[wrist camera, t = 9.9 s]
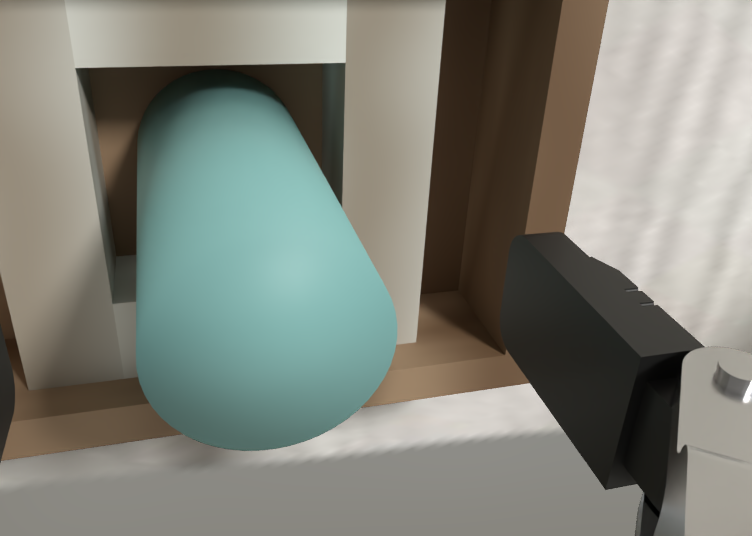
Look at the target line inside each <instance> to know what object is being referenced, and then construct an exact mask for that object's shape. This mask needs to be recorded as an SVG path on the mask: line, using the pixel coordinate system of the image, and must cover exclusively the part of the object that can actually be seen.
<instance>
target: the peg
mask: <svg viewBox="0 0 752 536" xmlns="http://www.w3.org/2000/svg"><path fill="white" fill-rule="evenodd" d="M396 342H397V318H396V311H395V308H394V305H393V302H392V299H391V297H390V295H389V293H388V291H387V289H386V287H385V285H384V283H383V281H382V279H381V278H380V276H379V274H378V272H377V270H376V268H375V267H374V265H373V263H372V261H371V259H370V258H369V256H368V254H367V252H366V250H365V249H364V247H363V245H362V243H361V241H360V240H359V238H358V236H357V234H356V232H355V230H354V229H353V227H352V225H351V223H350V221H349V220H348V218H347V216H346V214H345V212H344V211H343V209H342V207H341V205H340V203H339V202H338V200H337V198H336V196H335V194H334V192H333V191H332V189H331V187H330V185H329V183H328V182H327V180H326V178H325V176H324V174H323V173H322V171H321V169H320V167H319V165H318V164H317V162H316V160H315V158H314V156H313V154H312V153H311V151H310V149H309V147H308V145H307V144H306V142H305V140H304V138H303V136H302V135H301V133H300V131H299V129H298V127H297V126H296V124H295V122H294V120H293V118H292V117H291V115H290V113H289V111H288V109H287V108H286V106H285V105H284V103H283V102H282V100H281V99H280V98H279V97H278V96H277V95H276V93H275V92H274V91H272V90H271V89H270V88H269V87H268V86H266V85H265V84H263V83H262V82H260V81H259V80H257V79H255V78H253V77H251V76H249V75H246V74H243V73H240V72H236V71H231V70H222V69H211V70H202V71H197V72H193V73H190V74H187V75H185V76H182V77H180V78H178V79H176V80H174V81H173V82H171V83H170V84H168V85H167V86H166V87H164V88H163V89H162V90H161V91H160V92H159V93H158V94H157V95H156V96H155V97H154V99H153V100H152V101H151V102H150V104H149V105H148V107H147V109H146V110H145V112H144V115H143V117H142V120H141V123H140V127H139V130H138V139H137V255H136V369H137V373H138V378H139V382H140V385H141V387H142V390H143V392H144V395H145V397H146V398H147V400H148V401H149V403H150V405H151V406H152V408H153V409H154V410H155V411H156V412H157V413H158V415H159V416H160V417H161V418H162V419H163V420H164V421H166V422H167V423H168V424H169V425H170V426H171V427H173V428H174V429H176V430H177V431H179V432H181V433H182V434H184V435H185V436H188V437H190V438H192V439H194V440H196V441H198V442H202V443H205V444H208V445H211V446H215V447H219V448H224V449H231V450H242V451H259V450H268V449H276V448H281V447H286V446H291V445H294V444H297V443H301V442H304V441H307V440H309V439H312V438H314V437H317V436H319V435H321V434H323V433H325V432H327V431H329V430H331V429H332V428H334V427H336V426H337V425H339V424H340V423H342V422H343V421H345V420H346V419H348V418H349V417H350V416H351V415H353V414H354V413H355V412H356V411H358V410H359V409H360V408H361V407H362V406H363V405H364V404H365V403H366V402H367V401H368V400H369V398H370V397H371V396H372V395H373V393H374V392H375V391H376V390H377V388H378V387H379V385H380V384H381V382H382V381H383V379H384V377H385V376H386V373H387V371H388V369H389V367H390V365H391V362H392V359H393V356H394V353H395V348H396Z"/></svg>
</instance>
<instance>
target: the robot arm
mask: <svg viewBox="0 0 752 536" xmlns="http://www.w3.org/2000/svg"><path fill="white" fill-rule="evenodd" d="M500 330H501V336H502V339H503V342H504V345H505V347H506V349H507V351H508V353H509V354H510V355H511V357H512V358H513V360H514V361H515V362H516V364H517V365H518V367H519V368H520V370H521V371H522V372H523V374H524V375H525V377H526V378H527V379H528V381H529V382H530V384H531V385H532V386H533V388H534V389H535V391H536V392H537V394H538V395H539V396H540V398H541V399H542V401H543V402H544V403H545V405H546V406H547V408H548V409H549V411H550V412H551V413H552V415H553V416H554V418H555V419H556V420H557V422H558V423H559V425H560V426H561V427H562V429H563V430H564V432H565V433H566V435H567V436H568V437H569V439H570V440H571V442H572V443H573V444H574V446H575V447H576V449H577V450H578V452H579V453H580V454H581V456H582V457H583V458H584V460H585V461H586V462H587V464H588V465H589V467H590V468H591V470H592V471H593V473H594V474H595V475H596V477H597V478H598V480H599V481H600V483H601V484H602V485H603V487H604V488H605V490H607V489H613V488H618V487H623V486H628V485H634V484H638V485H639V487H640V488H641V489H642V490H643V494H642V497H641V501H640V504H639V508H638V513H637V521H636V530H635V536H752V354H750V353H748V352H744V351H741V350H737V349H732V348H726V347H704V346H703V345H702V344H701V343H700V342H699V341H697V340H696V339H695V338H694V337H693V336H692V335H691V334H690V333H688V332H687V331H686V330H685V329H684V328H683V327H682V326H681V325H680V324H678V323H677V322H676V321H675V320H674V319H673V318H672V317H671V316H669V315H668V314H667V313H666V312H665V311H664V310H663V309H662V308H660V307H659V306H658V305H654V301H653V300H652V299H650V298H649V297H648V296H647V295H646V294H645V293H644V292H643V291H638V287H637V286H636V285H635V284H634V283H632V282H631V281H630V280H629V279H628V278H627V277H626V276H625V275H624V274H622V273H621V272H620V271H619V270H617V269H615V268H613V267H611V266H609V265H607V264H605V263H603V262H601V261H599V260H597V259H595V258H593V257H589V256H588V255H586V254H585V253H584V252H583V251H582V250H581V249H580V248H579V247H578V246H577V245H576V244H575V243H573V242H572V241H571V240H570V239H569V238H568V237H567V236H566V235H565V234H563V233H562V232H548V233H536V234H525V235H518V236H516V237H515V238H514V239H513V240H512V242H511V245H510V249H509V255H508V262H507V269H506V276H505V283H504V290H503V297H502V304H501V310H500ZM14 408H15V383H14V375H13V370H12V366H11V362H10V359H9V355H8V351H7V347H6V344H5V340H4V336H3V332H2V328H1V325H0V463H1V459H2V455H3V451H4V448H5V444H6V440H7V436H8V433H9V429H10V425H11V422H12V418H13V414H14Z"/></svg>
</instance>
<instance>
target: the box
mask: <svg viewBox="0 0 752 536" xmlns="http://www.w3.org/2000/svg"><path fill="white" fill-rule="evenodd" d="M608 2H609V0H0V325H1V328H2V332H3V336H4V340H5V344H6V347H7V351H8V355H9V359H10V362H11V366H12V370H13V375H14V383H15V408H14V414H13V418H12V422H11V425H10V429H9V433H8V436H7V440H6V444H5V448H4V451H3V455H2V459H1V461H3V460H10V459H17V458H24V457H30V456H37V455H44V454H51V453H58V452H64V451H71V450H78V449H85V448H92V447H98V446H105V445H112V444H119V443H126V442H132V441H139V440H146V439H153V438H160V437H166V436H173V435H180V434H182V433H181V432H179V431H177V430H176V429H174V428H173V427H171V426H170V425H169V424H168V423H167V422H166V421H164V420H163V419H162V418H161V417H160V416H159V415H158V413H157V412H156V411H155V410H154V409H153V408H152V406H151V405H150V403H149V401H148V400H147V398H146V397H145V395H144V392H143V390H142V387H141V385H140V382H139V378H138V373H137V369H136V255H137V139H138V130H139V127H140V123H141V120H142V117H143V115H144V112H145V110H146V109H147V107H148V105H149V104H150V102H151V101H152V100H153V99H154V97H155V96H156V95H157V94H158V93H159V92H160V91H161V90H162V89H163V88H164V87H166V86H167V85H168V84H170V83H171V82H173V81H174V80H176V79H178V78H180V77H182V76H185V75H187V74H190V73H193V72H197V71H202V70H211V69H222V70H231V71H236V72H240V73H243V74H246V75H249V76H251V77H253V78H255V79H257V80H259V81H260V82H262V83H263V84H265V85H266V86H268V87H269V88H270V89H271V90H272V91H274V92H275V93H276V95H277V96H278V97H279V98H280V99H281V100H282V102H283V103H284V105H285V106H286V108H287V109H288V111H289V113H290V115H291V117H292V118H293V120H294V122H295V124H296V126H297V127H298V129H299V131H300V133H301V135H302V136H303V138H304V140H305V142H306V144H307V145H308V147H309V149H310V151H311V153H312V154H313V156H314V158H315V160H316V162H317V164H318V165H319V167H320V169H321V171H322V173H323V174H324V176H325V178H326V180H327V182H328V183H329V185H330V187H331V189H332V191H333V192H334V194H335V196H336V198H337V200H338V202H339V203H340V205H341V207H342V209H343V211H344V212H345V214H346V216H347V218H348V220H349V221H350V223H351V225H352V227H353V229H354V230H355V232H356V234H357V236H358V238H359V240H360V241H361V243H362V245H363V247H364V249H365V250H366V252H367V254H368V256H369V258H370V259H371V261H372V263H373V265H374V267H375V268H376V270H377V272H378V274H379V276H380V278H381V279H382V281H383V283H384V285H385V287H386V289H387V291H388V293H389V295H390V297H391V299H392V302H393V305H394V308H395V311H396V318H397V342H396V348H395V353H394V356H393V359H392V362H391V365H390V367H389V369H388V371H387V373H386V376H385V377H384V379H383V381H382V382H381V384H380V385H379V387H378V388H377V390H376V391H375V392H374V393H373V395H372V396H371V397H370V398H369V400H368V401H367V402H366V403H365V404H364V405H363V406H362V407H361V408H363V407H370V406H377V405H384V404H391V403H397V402H404V401H411V400H418V399H425V398H431V397H438V396H445V395H452V394H459V393H465V392H472V391H479V390H486V389H492V388H499V387H506V386H513V385H520V384H526V383H530V382H529V381H528V379H527V378H526V377H525V375H524V374H523V372H522V371H521V370H520V368H519V367H518V365H517V364H516V362H515V361H514V360H513V358H512V357H511V355H510V354H509V353H508V351H507V349H506V347H505V345H504V342H503V339H502V336H501V330H500V310H501V304H502V297H503V290H504V283H505V276H506V269H507V262H508V255H509V249H510V245H511V242H512V240H513V239H514V238H515V237H516V236H518V235H525V234H536V233H548V232H562V233H563V234H564V232H565V226H566V221H567V216H568V211H569V206H570V200H571V195H572V190H573V185H574V179H575V174H576V169H577V164H578V159H579V153H580V148H581V143H582V138H583V132H584V127H585V122H586V117H587V112H588V106H589V101H590V96H591V91H592V86H593V80H594V75H595V70H596V65H597V59H598V54H599V49H600V44H601V39H602V33H603V28H604V23H605V18H606V12H607V7H608Z"/></svg>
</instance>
